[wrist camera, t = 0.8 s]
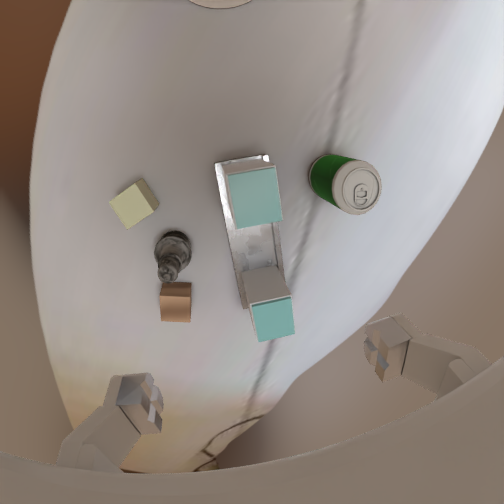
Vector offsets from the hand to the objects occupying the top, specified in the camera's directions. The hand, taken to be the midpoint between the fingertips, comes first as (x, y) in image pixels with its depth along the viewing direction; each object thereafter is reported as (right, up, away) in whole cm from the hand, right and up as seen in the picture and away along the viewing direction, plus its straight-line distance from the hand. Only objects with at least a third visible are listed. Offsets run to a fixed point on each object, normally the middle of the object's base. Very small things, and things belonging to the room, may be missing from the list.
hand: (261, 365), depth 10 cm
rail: (0, +7, +39) cm, 39 cm away
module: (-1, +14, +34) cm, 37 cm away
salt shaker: (-13, +5, +38) cm, 40 cm away
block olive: (-18, +12, +34) cm, 40 cm away
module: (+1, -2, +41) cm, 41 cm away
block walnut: (-14, -4, +41) cm, 43 cm away
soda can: (+12, +17, +37) cm, 42 cm away
